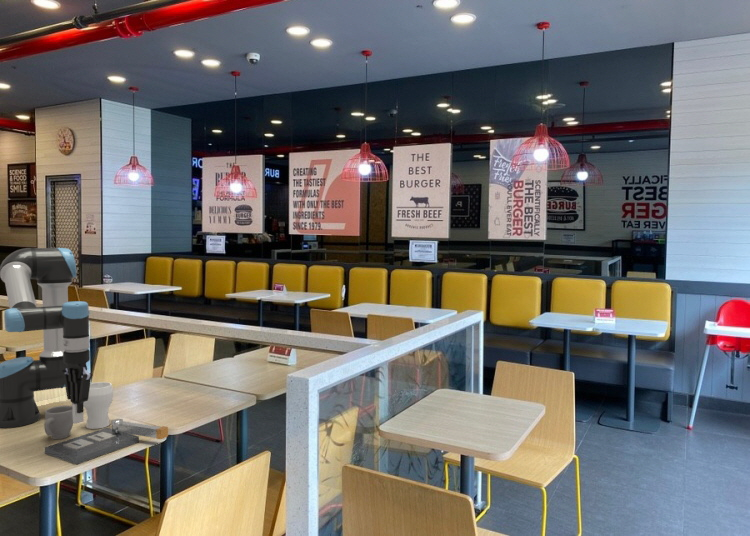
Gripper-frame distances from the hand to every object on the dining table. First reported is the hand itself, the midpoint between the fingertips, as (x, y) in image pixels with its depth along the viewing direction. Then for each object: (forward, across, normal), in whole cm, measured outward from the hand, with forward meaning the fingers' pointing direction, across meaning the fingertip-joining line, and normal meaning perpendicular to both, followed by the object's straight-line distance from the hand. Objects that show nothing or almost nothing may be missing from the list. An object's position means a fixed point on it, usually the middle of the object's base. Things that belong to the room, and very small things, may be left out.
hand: (78, 422), depth 183 cm
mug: (+10, -17, +3) cm, 20 cm away
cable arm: (+7, +9, +16) cm, 19 cm away
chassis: (+9, +2, +4) cm, 10 cm away
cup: (+10, -17, +18) cm, 27 cm away
